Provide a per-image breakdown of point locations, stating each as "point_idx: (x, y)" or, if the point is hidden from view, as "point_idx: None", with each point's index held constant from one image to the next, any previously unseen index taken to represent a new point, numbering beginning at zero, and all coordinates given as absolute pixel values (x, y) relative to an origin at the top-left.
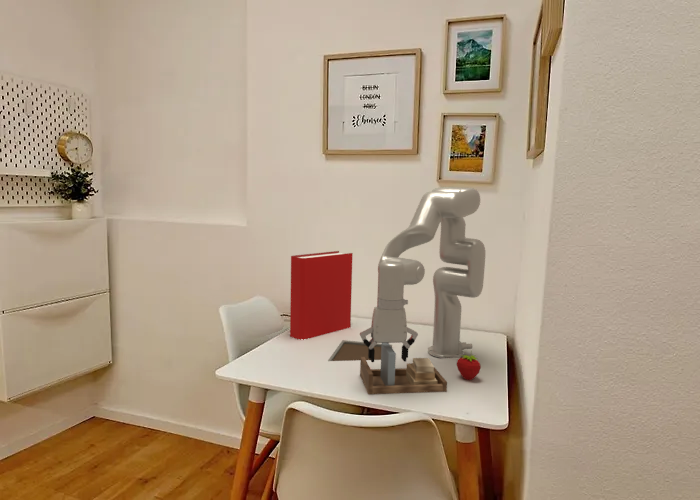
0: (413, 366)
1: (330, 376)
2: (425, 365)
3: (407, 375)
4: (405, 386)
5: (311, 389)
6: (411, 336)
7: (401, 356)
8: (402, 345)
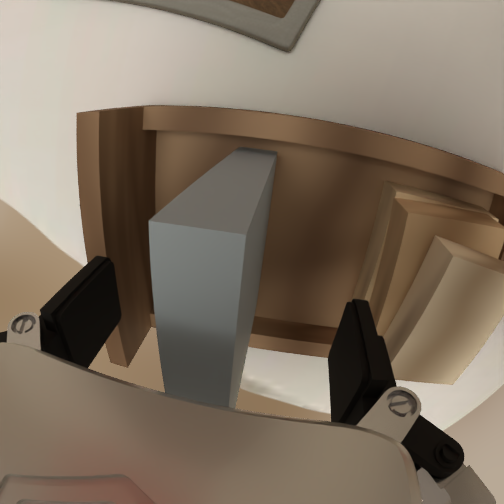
0: (419, 268)
1: (47, 77)
2: (430, 371)
3: (383, 212)
4: (291, 351)
5: (4, 192)
6: (438, 495)
7: (348, 308)
8: (372, 379)
